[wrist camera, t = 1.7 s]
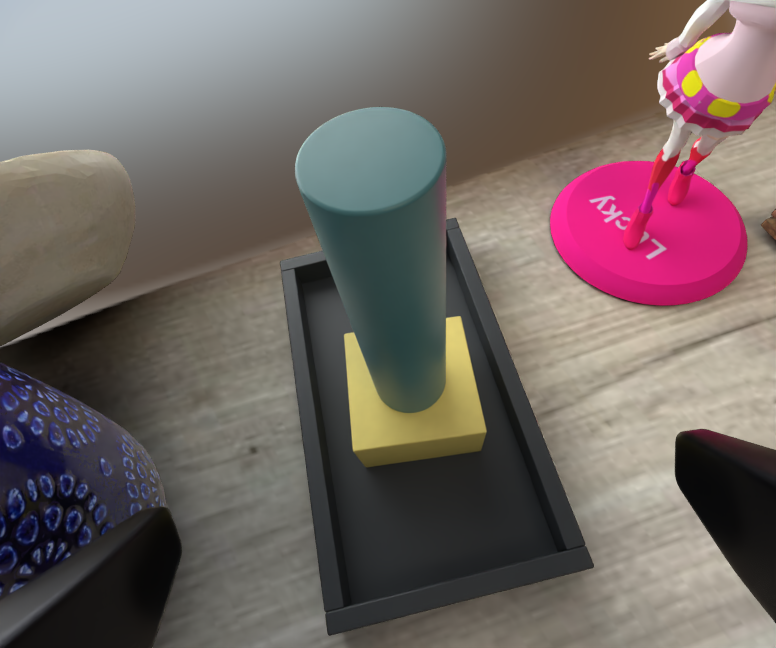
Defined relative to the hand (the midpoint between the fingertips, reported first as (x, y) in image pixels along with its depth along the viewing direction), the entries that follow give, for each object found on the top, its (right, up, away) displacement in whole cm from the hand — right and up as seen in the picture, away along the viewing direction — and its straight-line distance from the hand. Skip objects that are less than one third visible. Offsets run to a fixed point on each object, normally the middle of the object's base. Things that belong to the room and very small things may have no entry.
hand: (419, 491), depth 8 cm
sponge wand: (+1, -1, +12) cm, 13 cm away
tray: (0, -1, +13) cm, 13 cm away
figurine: (+13, +8, +16) cm, 23 cm away
